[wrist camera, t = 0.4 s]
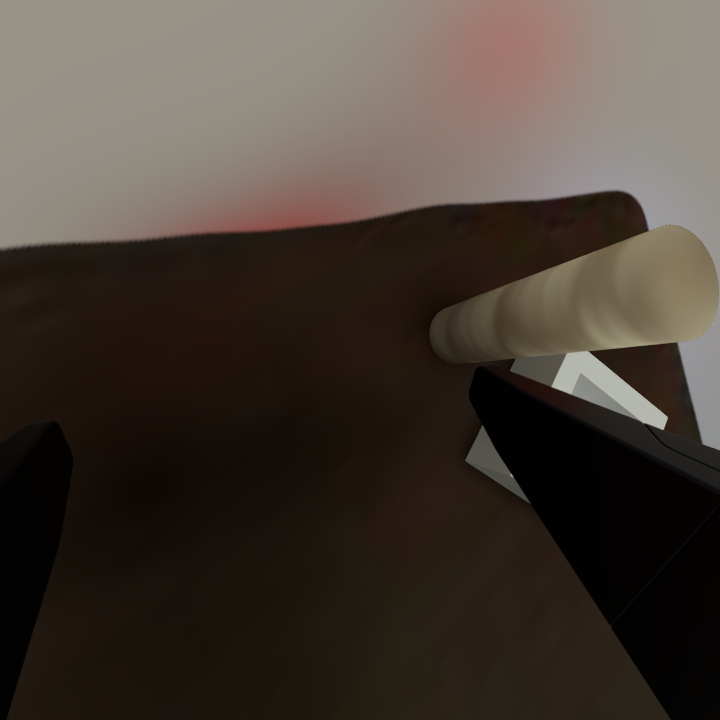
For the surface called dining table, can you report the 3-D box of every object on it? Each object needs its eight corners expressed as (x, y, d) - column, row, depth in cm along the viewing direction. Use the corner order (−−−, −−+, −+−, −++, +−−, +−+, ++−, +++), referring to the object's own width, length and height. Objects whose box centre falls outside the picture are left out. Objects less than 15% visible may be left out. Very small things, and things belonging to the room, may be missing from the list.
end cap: (560, 523, 28) (618, 548, 24) (464, 460, 26) (510, 475, 21) (606, 412, 30) (667, 417, 26) (521, 346, 28) (573, 339, 24)
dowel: (489, 337, 27) (734, 289, 14) (455, 376, 26) (684, 365, 13) (454, 295, 26) (675, 202, 13) (418, 333, 25) (618, 274, 12)
